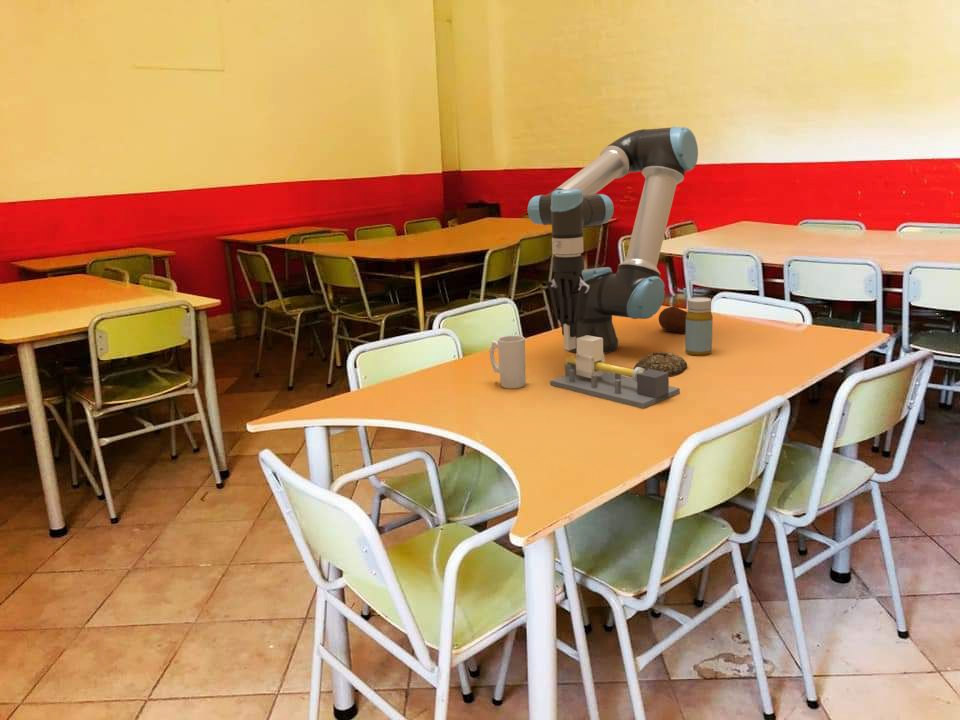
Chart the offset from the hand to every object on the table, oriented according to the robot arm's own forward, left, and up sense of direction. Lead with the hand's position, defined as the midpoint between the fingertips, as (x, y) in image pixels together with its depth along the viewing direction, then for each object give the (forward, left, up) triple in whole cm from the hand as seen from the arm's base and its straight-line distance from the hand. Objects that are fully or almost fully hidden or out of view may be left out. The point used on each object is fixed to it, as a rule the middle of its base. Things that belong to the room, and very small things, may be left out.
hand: (569, 348), depth 187 cm
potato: (-8, +57, -8) cm, 58 cm away
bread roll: (+12, +21, -9) cm, 25 cm away
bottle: (+11, +40, -8) cm, 43 cm away
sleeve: (+6, 0, -6) cm, 8 cm away
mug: (-10, -13, -8) cm, 18 cm away
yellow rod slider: (+13, 0, -8) cm, 16 cm away
